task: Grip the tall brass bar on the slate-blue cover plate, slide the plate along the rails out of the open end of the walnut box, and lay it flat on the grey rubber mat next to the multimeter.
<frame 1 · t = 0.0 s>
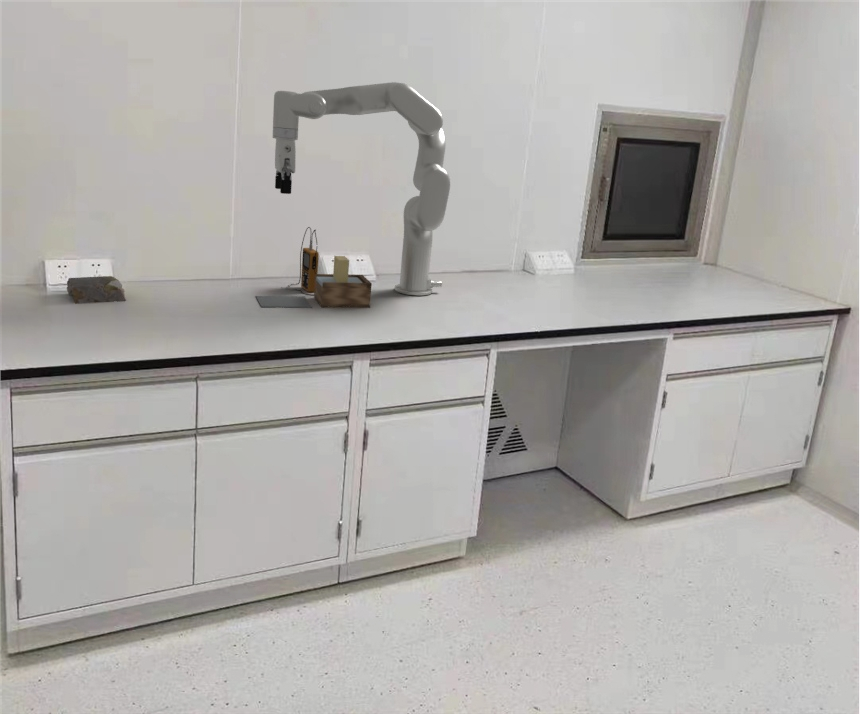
hand: (282, 191, 264), 31 cm above the worktop, tool pointing down, fingers open, 9 cm apart
multimeter: (298, 290, 276), on the worktop
case: (341, 302, 266), on the worktop
cover plate: (340, 283, 264), point 6 cm above the worktop, touching case
geological specimen: (96, 299, 246), on the worktop
mat: (283, 302, 260), on the worktop
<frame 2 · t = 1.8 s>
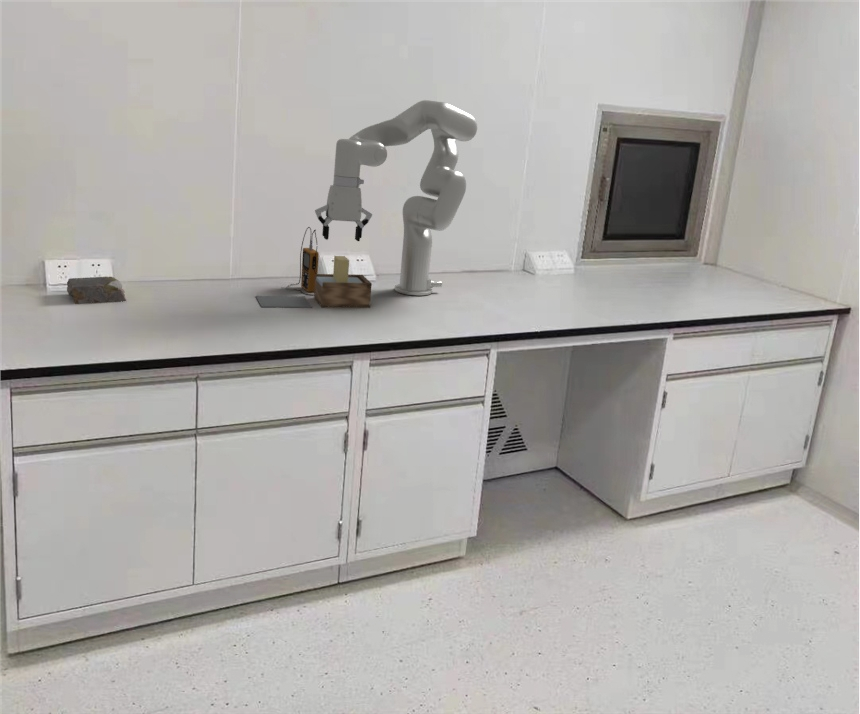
hand: (341, 239, 259), 20 cm above the worktop, tool pointing down, fingers open, 9 cm apart
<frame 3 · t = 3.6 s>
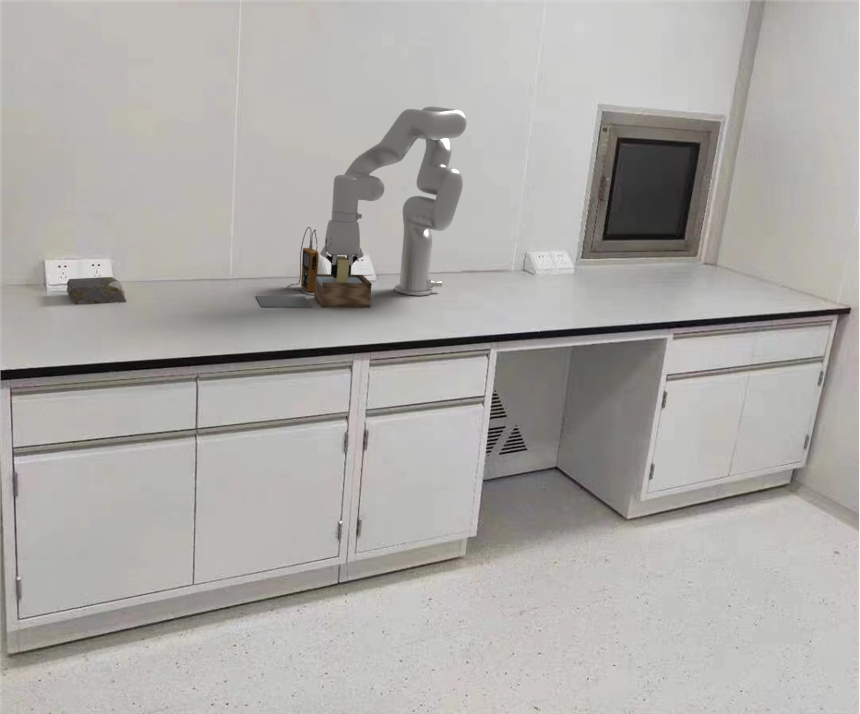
hand: (340, 276, 263), 8 cm above the worktop, tool pointing down, fingers closed on cover plate, 3 cm apart
cover plate: (340, 283, 264), point 6 cm above the worktop, touching case, gripper
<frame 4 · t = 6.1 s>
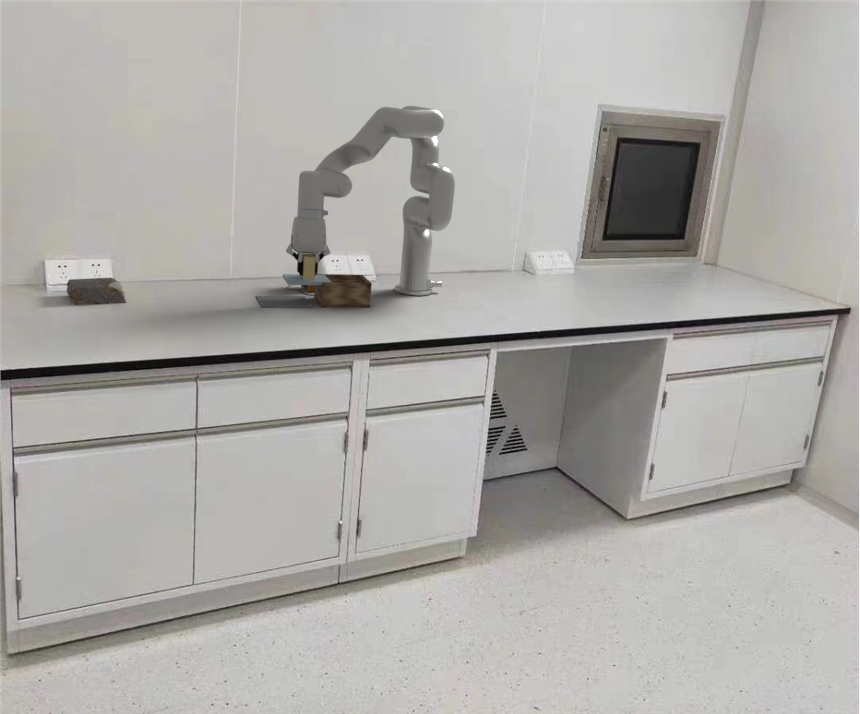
hand: (307, 274, 259), 9 cm above the worktop, tool pointing down, fingers closed on cover plate, 3 cm apart
cover plate: (306, 281, 260), point 7 cm above the worktop, touching gripper
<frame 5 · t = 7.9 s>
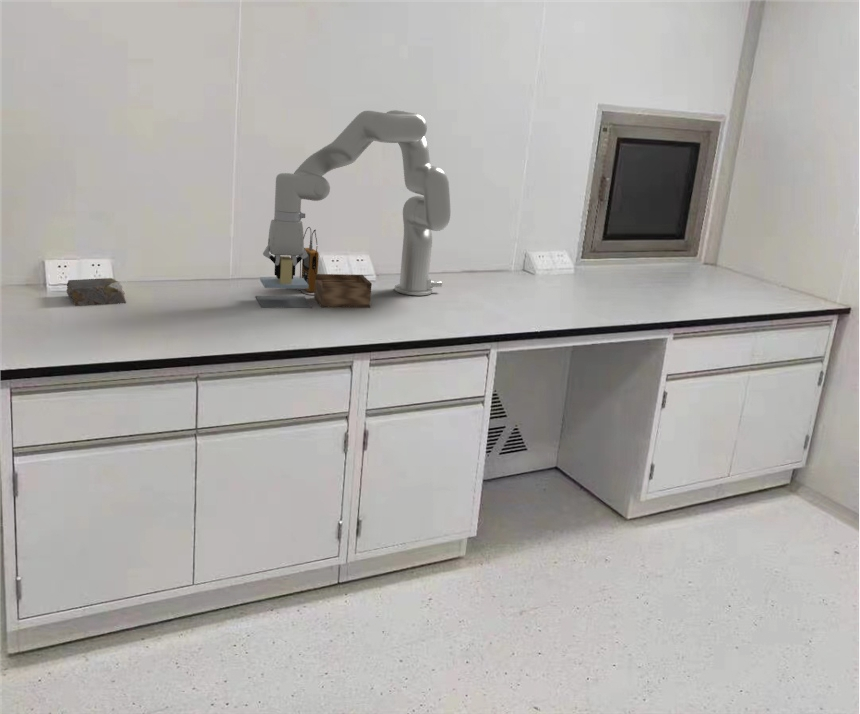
hand: (284, 277, 258), 8 cm above the worktop, tool pointing down, fingers closed on cover plate, 3 cm apart
cover plate: (284, 284, 258), point 6 cm above the worktop, touching gripper
when the fingers open (3 cm above the worktop, at t = 9.0 s): cover plate stays where it is, resting on mat.
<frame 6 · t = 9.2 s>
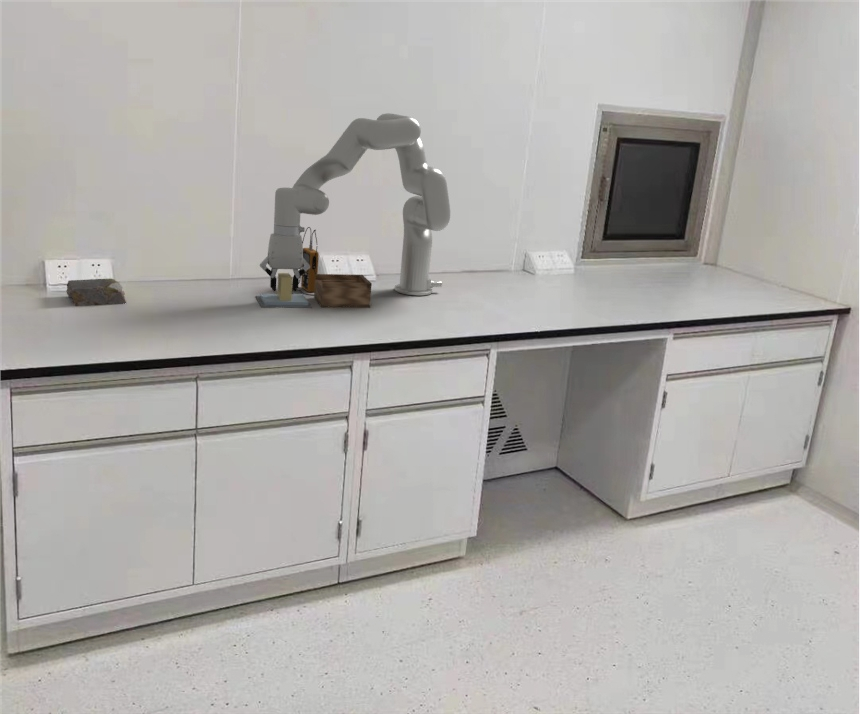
hand: (284, 289, 259), 4 cm above the worktop, tool pointing down, fingers open, 5 cm apart
cover plate: (284, 301, 260), resting on mat
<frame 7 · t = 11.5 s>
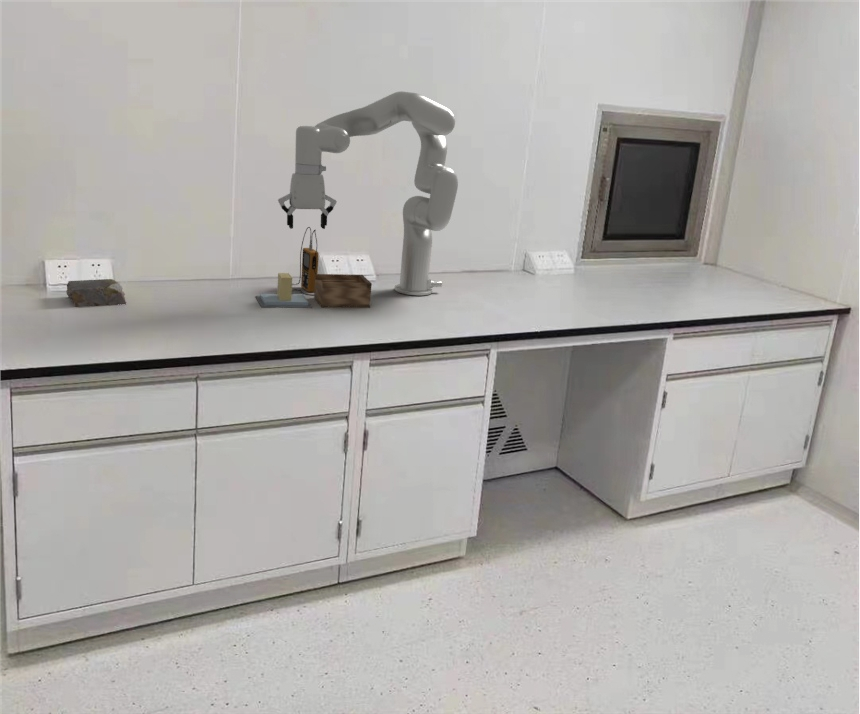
hand: (306, 227, 257), 22 cm above the worktop, tool pointing down, fingers open, 9 cm apart
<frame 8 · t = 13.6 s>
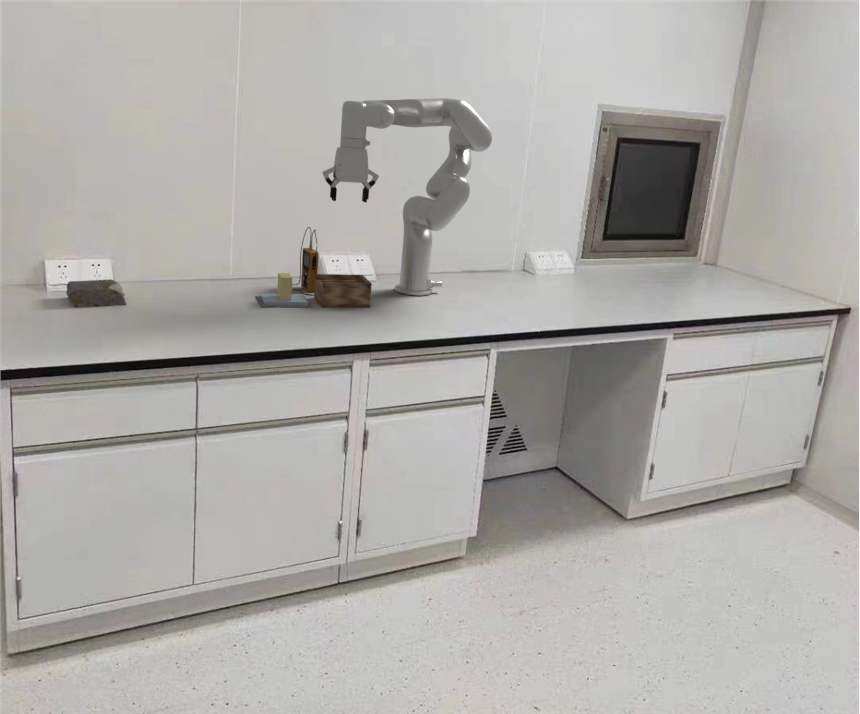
hand: (349, 201, 264), 30 cm above the worktop, tool pointing down, fingers open, 9 cm apart
at the end: cover plate inside the target area (0.1 cm from its centre), resting on mat; cover plate tilted 0°; cover plate touching mat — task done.
